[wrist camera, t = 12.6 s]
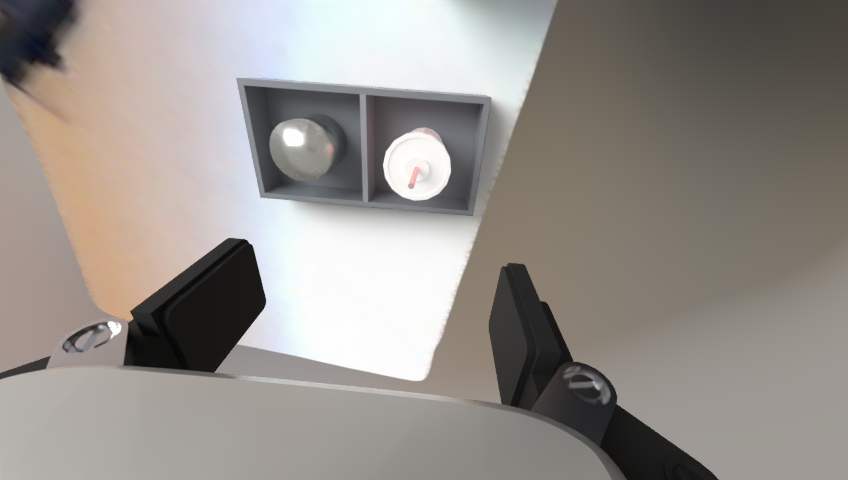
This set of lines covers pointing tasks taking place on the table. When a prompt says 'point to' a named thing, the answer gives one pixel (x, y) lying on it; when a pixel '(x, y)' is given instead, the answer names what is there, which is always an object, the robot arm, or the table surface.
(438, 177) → the beverage cup
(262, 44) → the table surface
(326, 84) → the organizer tray
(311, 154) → the metal tin
